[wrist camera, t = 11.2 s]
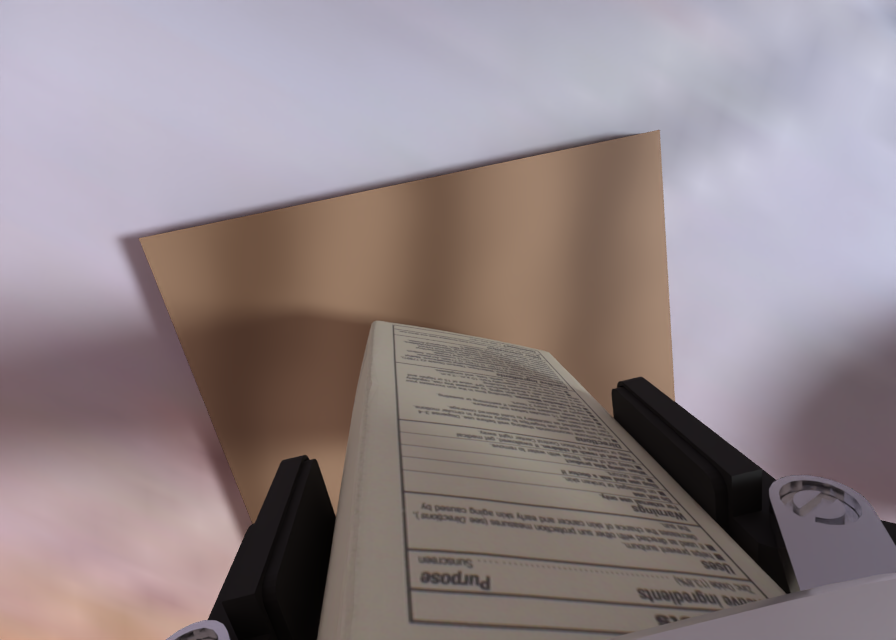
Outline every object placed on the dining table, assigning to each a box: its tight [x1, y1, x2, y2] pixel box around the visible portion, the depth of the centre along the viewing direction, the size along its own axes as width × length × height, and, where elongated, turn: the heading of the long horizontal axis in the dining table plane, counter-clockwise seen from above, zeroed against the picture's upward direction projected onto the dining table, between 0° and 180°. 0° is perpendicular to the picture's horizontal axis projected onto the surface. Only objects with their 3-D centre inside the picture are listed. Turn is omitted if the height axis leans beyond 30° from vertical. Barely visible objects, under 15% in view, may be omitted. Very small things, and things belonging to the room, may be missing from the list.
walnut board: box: [139, 130, 675, 524], centre depth 18 cm, size 18×14×1 cm
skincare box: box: [317, 321, 786, 640], centre depth 9 cm, size 6×4×12 cm
